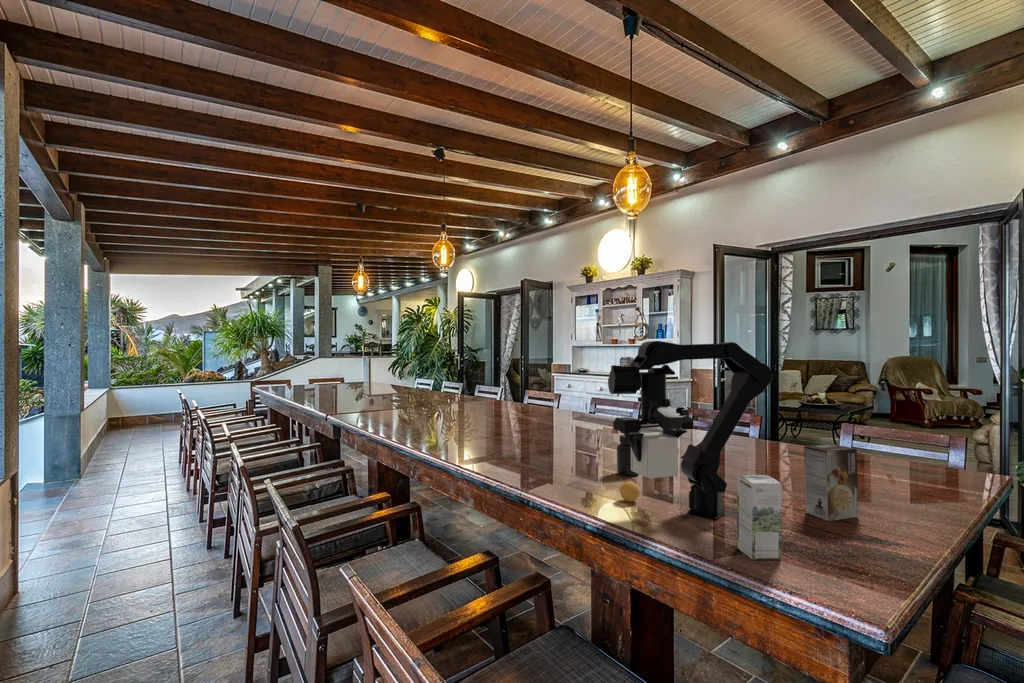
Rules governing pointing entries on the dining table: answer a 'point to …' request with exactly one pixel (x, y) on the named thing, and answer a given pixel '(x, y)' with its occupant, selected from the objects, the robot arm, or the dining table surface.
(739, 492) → the syrup box
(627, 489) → the ball
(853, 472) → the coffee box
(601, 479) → the dining table surface
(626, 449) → the supplement bottle
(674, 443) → the gray cube
